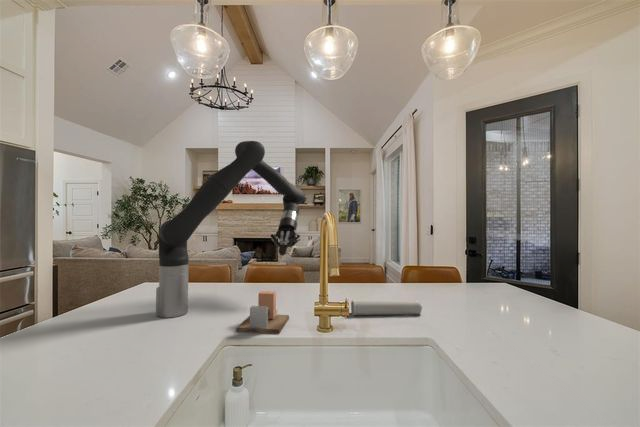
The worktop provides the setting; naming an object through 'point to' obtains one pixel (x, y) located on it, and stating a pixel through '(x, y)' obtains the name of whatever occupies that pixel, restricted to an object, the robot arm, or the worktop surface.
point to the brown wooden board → (273, 327)
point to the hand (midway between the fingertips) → (281, 254)
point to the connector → (259, 317)
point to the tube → (385, 307)
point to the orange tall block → (268, 302)
